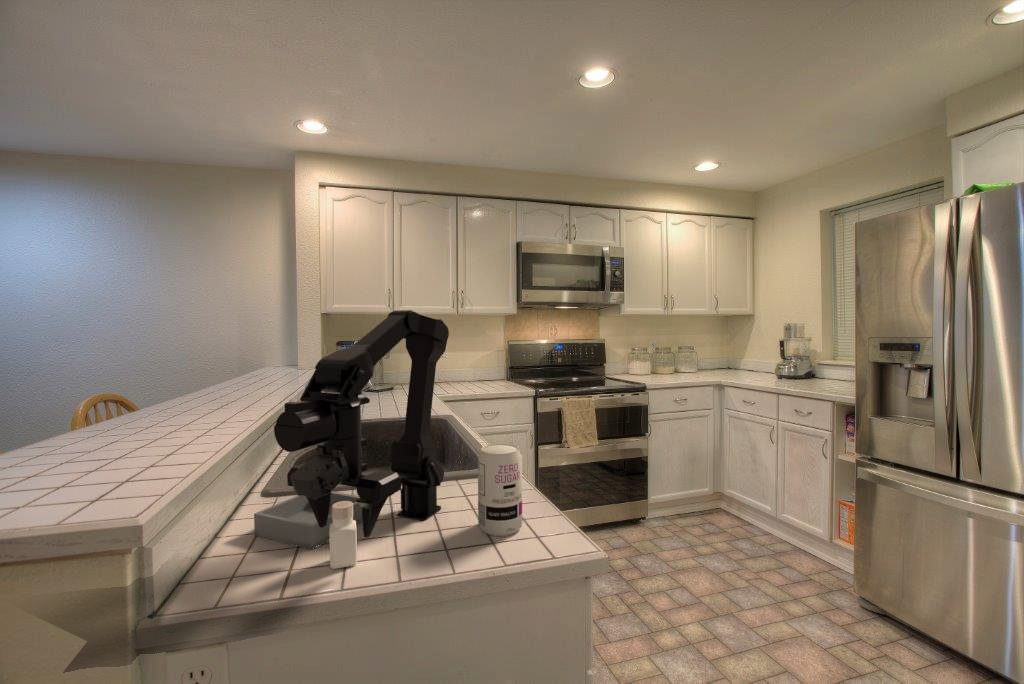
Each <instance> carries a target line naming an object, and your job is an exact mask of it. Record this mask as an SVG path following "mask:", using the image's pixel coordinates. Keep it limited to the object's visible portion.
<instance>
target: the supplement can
mask: <svg viewBox="0 0 1024 684" xmlns="http://www.w3.org/2000/svg"><path fill="white" fill-rule="evenodd" d="M477 516H478V517H477V521H478V522H477V523H478V524H477V525H478V528H479V529H480V530H481V531H482V532H484V533H485V534H486V535H489V536H494V537H506V536H512V535H513V534H515V533H517V532H518V531H519V529H520V528H522V526H523V455H522V453H521V452H520V450H519V447H518V446H517V445H514V444H508V443H493V444H488V445H485V446H482V447H481V448H480V452H479V454H478V456H477Z"/></svg>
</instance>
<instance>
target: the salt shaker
mask: <svg viewBox="0 0 1024 684" xmlns="http://www.w3.org/2000/svg"><path fill="white" fill-rule="evenodd" d="M332 519H333V523H332V524H330V529H329V536H330V540H329V566H330V568H331V569H332V570H335V569H341V568H347V567H353V566H355V565H356V564H357V562H358V543H357V540H358V539H357V538H358V537H357V536H358V535H357V533H358V532H357V525H356V521H355V520H353V503H352V502H350V501H341V502H337V503H335V504H333V505H332Z"/></svg>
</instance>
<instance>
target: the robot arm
mask: <svg viewBox="0 0 1024 684" xmlns="http://www.w3.org/2000/svg"><path fill="white" fill-rule="evenodd" d="M449 336H450V332H449V327H448V326H447V325H446V323H445V322H444V320H442V319H439V318H432V317H430V316H429V317H428V316H426V315H422V314H419V313H418V312H416V311H413V310H411V309H409V310H406V309H405V310H403V309H402V310H393V311H390V312H389V313H388V314H387V317H386V318H385V319H384V320H382V321H381V322H379V324H378V325H376V326H375V327H374V328H372V329H371V330H370V331H369V332H367V333H366V334H365V335H364V336H363V337H362V338H360V339H359V340H358V341H357V342H356V343H354V344H353V345H351V346H349V347H346V348H343V349H340V350H337V351H334V352H332V353H330V354H327V355H326V356H325V357H323V358H320V359H319V361H317V363H316V364H315V367H314V369H315V370H314V372H313V373H312V376H311V378H310V380H309V381H308V383H307V386H306V387H305V389H304V391H303V393H302V394H301V396H300V401H291V402H290V401H289V402H286V403H284V406H283V407H284V411H283V412H282V413H280V414H279V415H278V417H277V419H276V421H275V425H274V426H273V433H274V437H275V440H276V441H275V442H277V444H278V446H279V447H280V448H281V449H282V450H283V451H285V452H289V453H293V452H297V451H301V450H302V449H306V448H309V447H314V446H316V448H315V456H314V457H313V458H312V459H310V460H307V461H305V462H303V463H299V464H298V465H295V466H291V468H290V469H289V471H288V473H287V476H286V477H287V478H286V479H287V486H288V487H293V491H295V493H296V496H297V495H298V496H302V495H303V496H306V497H307V499H308V501H309V503H310V505H311V508H312V510H313V513H314V515H315V517H316V520H317V522H318V525H319V527H320V528H322V527H324V526H326V523H327V519H328V514H329V506H330V498H331V491H333V490H335V488H336V487H338V486H339V485H341V486H346V487H352V488H356V494H357V496H359V497H360V499H358V500H356V502H357V503H358V504H359V505H360V506H361V507H362V522H361V523H362V533H363V538H367V539H368V537H370V536H371V535H372V532H373V529H374V527H375V525H376V523H377V521H378V518H379V515H380V514H381V511H382V509H383V507H384V505H385V504H386V502H387V500H388V498H389V497H391V496H393V495H395V493H397V492H398V491H400V509H401V510H400V511H398V512H397V516H399V517H405V518H410V519H414V520H419V521H425V520H427V519H429V518H430V517H432V516H433V515H434V514H435V513H437V512H439V511H440V510H441V509H442V506H441V505H438V502H437V501H438V500H437V499H438V498H437V497H438V496H437V495H438V494H437V491H438V490H437V489H438V488H437V487H440V486H441V483H442V482H443V481H444V478H445V470H444V469H443V467H442V466H441V465H440V464H439V463H438V461H437V460H436V446H435V444H434V441H433V440H432V438H431V435H430V427H431V418H432V407H433V397H434V390H435V389H434V388H435V381H436V379H435V378H436V371H437V370H436V369H437V363H438V361H439V360H440V358H442V356H443V355H444V353H445V352H446V348H447V345H448V344H447V343H448V339H449ZM403 339H404V340H405V349H406V351H407V353H408V356H409V358H410V360H411V367H410V376H409V382H408V393H407V402H406V410H405V411H406V412H405V418H404V419H405V420H404V426H403V427H404V428H403V433H402V434H401V436H400V437H399V439H397V440H393V441H392V443H391V452H390V456H389V460H388V462H389V463H390V470H391V471H390V470H389V471H388V470H383V469H378V470H376V471H374V472H371V473H369V474H367V475H363V473H364V472H365V471H368V463H365V462H363V460H362V459H363V457H362V456H363V454H362V447H365V446H367V445H368V441H367V440H368V439H367V438H362V413H361V412H362V410H361V408H362V407H361V406H362V405H367V404H369V403H370V402H371V399H370V398H369V397H368V396H367V395H365V394H363V392H362V391H363V390H364V389H365V388H366V386H367V384H368V383H369V382H370V381H371V379H372V377H373V376H374V369H375V366H376V365H377V364H378V363H379V362H380V361H381V360H382V359H383V358H384V357H385V356H386V355H387V354H389V352H391V350H393V349H394V348H395V347H396V346H397V345H398V344H399V343H400V342H401V341H403Z"/></svg>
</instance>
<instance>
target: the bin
mask: <svg viewBox="0 0 1024 684" xmlns="http://www.w3.org/2000/svg"><path fill="white" fill-rule="evenodd" d="M358 499H360V497H359V496H358V495H356V494H349V493H343V492H337V491H333V490H332V491H331V498H330V506H329V514H328V519H327V523H326V526H324V527H322V528H320V527H319V525H318V522H317V520H316V517H315V515H314V513H313V510H312V508H311V505H310V503H309V501H308V499H307V497H306V496H303V495H302V496H298V495H297V494H296V495H295V496H293V497H290V498H288V499H286V500H284V501H283V500H282V501H281V502H278V503H277V504H274V505H271V506H270V507H266V508H264V509H262V510H260V511H258V512H255V513H253V519H254V521H253V522H254V524H253V525H254V536H257V537H259V538H263V537H264V539H267V538H268V539H267V540H271V539H273V540H272V541H275V540H277V541H276V542H279V541H281V542H280V543H283V542H285V543H284V544H287V543H289V544H288V545H291V544H293V545H292V546H295V545H297V546H296V547H299V546H301V547H300V548H303V547H305V548H304V549H307V548H310V549H309V550H311V549H313V548H315V547H316V546H318V545H320V544H322V543H323V542H325V541H327V540H329V539H330V536H329V529H330V524H332V523H333V519H332V505H333V504H335V503H337V502H341V501H350V502H352V503H353V520H355V521H356V524H357V525H359V523H363V522H362V507H361V506H360V505H359V504H358V503H357V502H356V500H358ZM329 541H330V540H329ZM327 542H328V541H327ZM325 543H326V542H325ZM323 544H324V543H323ZM323 544H322V545H323ZM320 546H321V545H320ZM318 547H319V546H318ZM315 549H316V548H315ZM313 550H314V549H313Z"/></svg>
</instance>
